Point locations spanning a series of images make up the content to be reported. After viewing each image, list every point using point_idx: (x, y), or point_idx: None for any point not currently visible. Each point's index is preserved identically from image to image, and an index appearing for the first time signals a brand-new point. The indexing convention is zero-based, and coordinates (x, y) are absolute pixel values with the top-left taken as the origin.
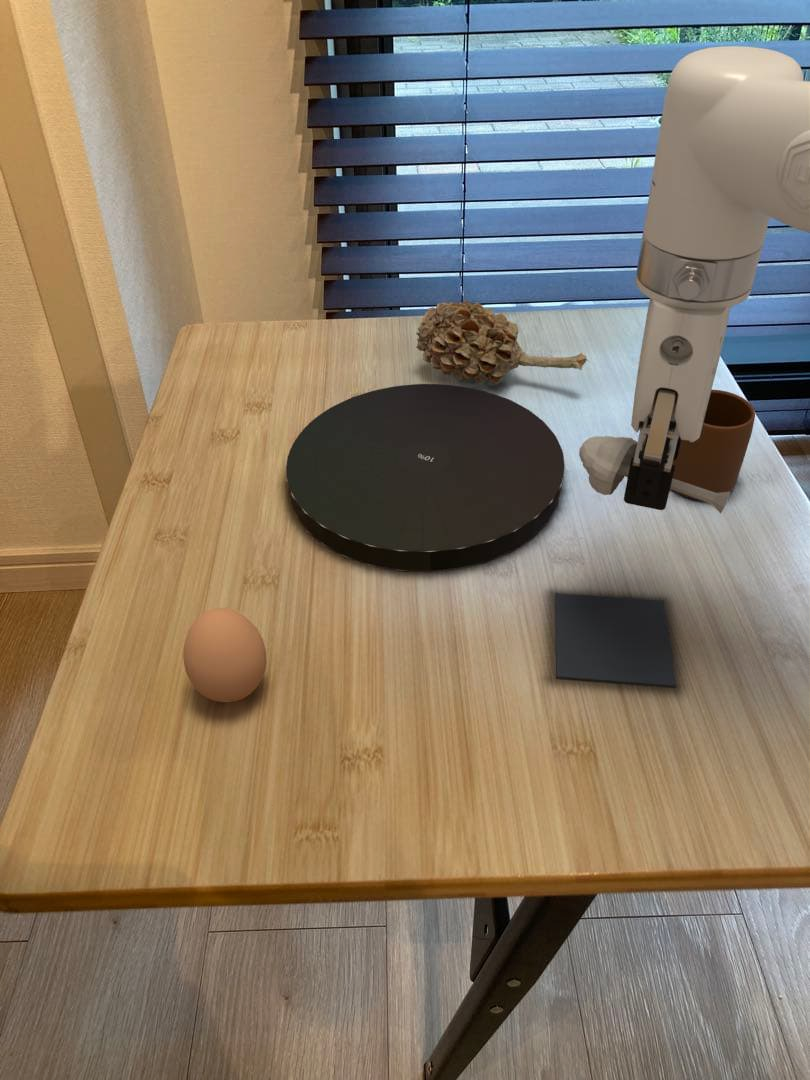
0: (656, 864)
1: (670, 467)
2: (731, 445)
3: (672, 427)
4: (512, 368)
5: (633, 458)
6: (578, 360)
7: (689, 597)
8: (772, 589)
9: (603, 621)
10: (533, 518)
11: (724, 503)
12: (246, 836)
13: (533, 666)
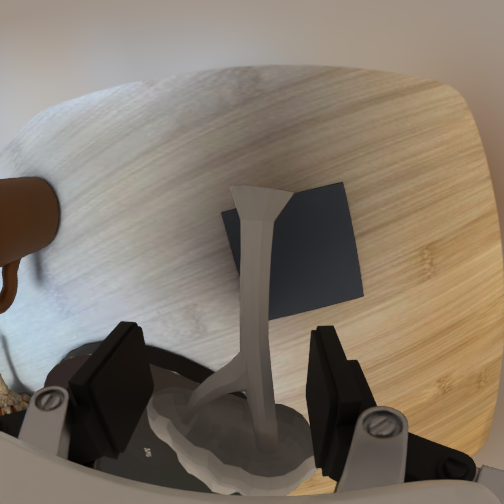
0: (490, 186)
1: (407, 426)
2: (3, 197)
3: (108, 396)
4: (14, 394)
5: (324, 473)
6: None
7: (202, 185)
8: (158, 104)
9: (278, 270)
10: (177, 374)
11: (284, 194)
12: (480, 402)
13: (353, 317)
